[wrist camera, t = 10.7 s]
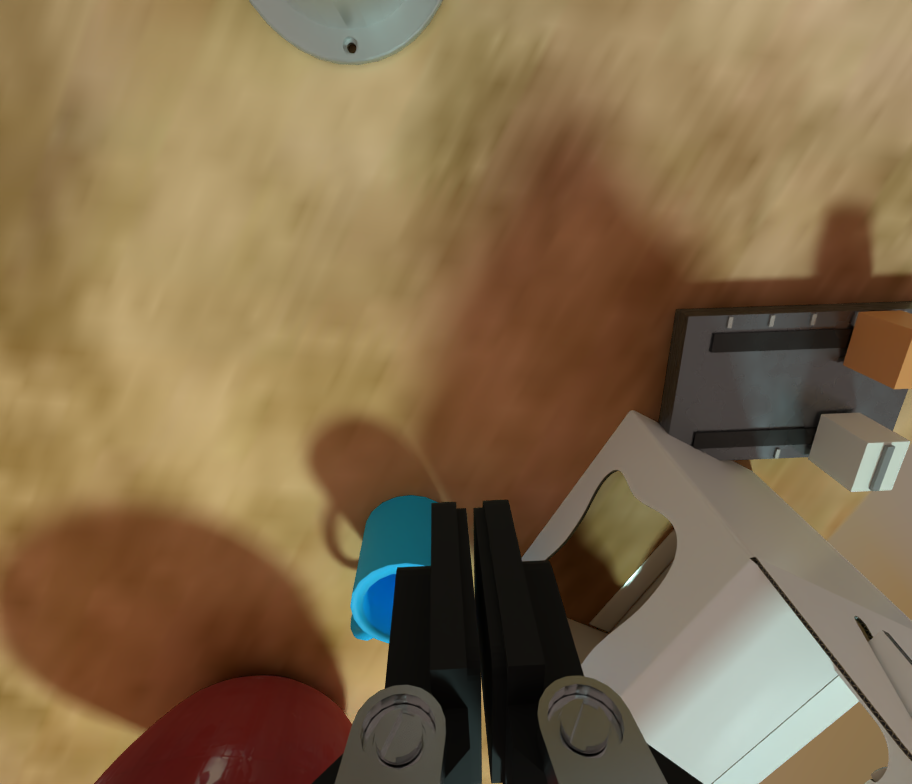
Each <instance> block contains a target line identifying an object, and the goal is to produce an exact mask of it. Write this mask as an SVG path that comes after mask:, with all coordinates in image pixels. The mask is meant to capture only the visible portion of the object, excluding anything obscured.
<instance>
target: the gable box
mask: <svg viewBox="0 0 912 784" xmlns="http://www.w3.org/2000/svg"><path fill="white" fill-rule="evenodd" d="M616 471H621V472H622V474H623V475H624V477H625V479H626V481H627V483H628V485H629V488H630V490H631V492H632V494H633V495H634V496H635V497H636V498H637V499H638V500H639V501H641V502H642V503H644V504H645V505H647V506H649V507H651V508H653V509H654V510H656V511H658V512H659V513H661V514H662V515H664V516H665V517H666V518H667V519H668V520H669V521H670V522H671V523H672V525H673V527H674V530H673V531H672V532H671V533H670V534H669V535H668V536H667V538H666V539H665V540H664V541H663V542H662V543H661V544H660V545H659V546H658V548H657V549H656V550H655V551H654V552H653V553H652V554H651V555H650V556H649V558H648V559H647V560H646V561H645V562H644V563H643V564H642V565H641V566H640V568H639V569H638V570H637V571H636V572H635V573H634V574H633V575H632V576H631V577H630V579H629V580H628V581H627V582H626V583H625V584H624V585H623V586H622V587H621V589H620V590H619V591H618V592H617V593H616V594H615V595H614V596H613V597H612V599H611V600H610V601H609V602H608V603H607V604H606V605H605V606H604V607H603V609H602V610H601V611H600V612H599V613H598V614H597V615H596V616H595V617H594V618H593V620H592V621H591V622H590V623H589V624H590V625H593V626H595V627H598V628H600V629H603V630H605V631H608V632H609V631H610V630H611V629H612V628H613V627H614V626H615V625H616V623H617V622H618V621H619V620H620V619H621V618H622V617H623V616H624V614H625V613H626V612H627V611H628V610H629V609H630V608H631V606H632V605H633V604H634V603H635V602H636V601H637V600H638V598H639V597H640V596H641V595H642V594H643V593H644V592H645V591H646V589H647V588H648V587H649V586H650V585H651V584H652V583H653V581H654V580H655V579H656V578H657V577H658V576H659V575H660V573H661V572H662V571H663V570H664V569H665V568H666V567H667V566H668V564H669V563H670V562H671V561H672V560H673V559H674V560H673V561H672V563H671V564H670V565H669V566H668V567H667V568H666V569H665V570H664V572H663V573H662V574H661V575H660V576H659V577H658V578H657V580H656V581H655V582H654V583H653V584H652V585H651V586H650V587H649V589H648V590H647V591H646V592H645V593H644V594H643V595H642V597H641V598H640V599H639V600H638V601H637V602H636V603H635V604H634V606H633V607H632V608H631V609H630V610H629V611H628V612H627V614H626V615H625V616H624V617H623V618H622V619H621V620H620V621H619V623H618V624H617V625H616V626H615V627H614V628H613V629H612V631H611V632H610V633H609V634H607V633H605V632H602V631H600V630H597V629H594V628H592V627H589V626H587V625H584V624H581V623H579V622H576V621H574V620H571V619H568V618H567V620H568V623H569V627H570V630H571V633H572V637H573V640H574V643H575V647H576V650H577V654H578V657H579V660H580V664H581V667H582V670H583V674H584V676H585V677H589V678H593V679H596V680H598V681H600V682H602V683H604V684H606V685H607V686H609V687H610V688H611V689H612V690H613V691H615V692H616V693H617V694H618V695H619V696H620V697H621V698H622V700H623V701H624V703H625V704H626V706H627V707H628V708H629V710H630V712H631V714H632V716H633V718H634V720H635V722H636V724H637V726H638V727H639V729H640V731H641V733H642V735H643V737H644V739H645V741H646V743H647V744H649V745H650V746H651V747H653V748H654V749H656V750H657V751H658V752H660V753H661V754H663V755H664V756H665V757H667V758H668V759H670V760H671V761H672V762H674V763H675V764H677V765H678V766H679V767H681V768H682V769H684V770H685V771H686V772H688V773H689V774H691V775H692V776H693V777H695V778H696V779H698V780H699V781H700V782H702V783H703V784H758V783H760V782H761V781H762V780H763V779H764V778H766V777H767V776H768V775H769V774H771V773H772V772H773V771H774V770H775V769H777V768H778V767H779V766H780V765H782V764H783V763H784V762H785V761H787V760H788V759H789V758H790V757H791V756H792V755H794V754H795V753H796V752H798V751H799V750H800V749H801V748H802V747H804V746H805V745H806V744H807V743H808V742H810V741H811V740H812V739H813V738H815V737H816V736H817V735H818V734H820V733H821V732H822V731H823V730H824V729H826V728H827V727H828V726H829V725H831V724H832V723H833V722H834V721H836V720H837V719H838V718H839V717H840V716H842V715H843V714H844V713H845V712H847V711H848V710H849V709H850V708H851V707H853V706H854V705H855V704H856V703H858V702H859V701H860V703H861V704H862V705H863V706H864V708H865V709H866V710H867V711H868V713H869V714H870V715H871V716H872V718H873V719H874V720H875V721H876V723H877V724H878V725H879V727H880V729H881V731H882V732H883V734H884V737H885V739H886V742H887V745H888V750H889V762H888V767H884V768H880V769H878V770H876V771H874V772H873V773H872V774H871V776H872V778H873V779H870V780H869V781H867V782H866V783H864V784H912V621H911V620H910V619H909V618H908V617H907V616H906V615H905V614H904V613H903V612H902V611H901V610H899V609H898V608H897V607H896V606H895V605H894V604H893V603H892V602H891V601H890V600H889V599H888V598H887V597H886V596H885V595H883V594H882V593H881V592H880V591H879V590H878V589H877V588H876V587H875V586H874V585H873V584H872V583H871V582H870V581H869V580H868V579H867V578H865V577H864V576H863V575H862V574H861V573H860V572H859V571H858V570H857V569H856V568H855V567H854V566H853V565H852V564H851V563H849V562H848V561H847V560H846V559H845V558H844V557H843V556H842V555H841V554H840V553H839V552H838V551H837V550H836V549H835V548H834V547H832V546H831V545H830V544H829V543H828V542H827V541H826V540H825V539H824V538H823V537H822V536H821V535H820V534H819V533H818V532H817V531H816V530H814V529H813V528H812V527H811V526H810V525H809V524H808V523H807V522H806V521H805V520H804V519H803V518H802V517H801V516H800V515H799V514H797V513H796V512H795V511H794V510H793V509H792V508H791V507H790V506H789V505H788V504H787V503H786V502H785V501H784V500H783V499H782V498H780V497H779V496H778V495H777V494H776V493H775V492H774V491H773V490H772V489H771V488H770V487H769V486H768V485H767V484H766V483H765V482H763V481H762V480H761V479H760V478H759V477H758V476H757V475H756V474H755V473H754V472H753V471H751V470H749V469H747V468H745V467H744V466H742V465H740V464H738V463H736V462H734V461H732V460H724V461H719V460H718V459H716V458H714V457H712V456H710V455H708V454H705V453H703V452H702V451H700V450H698V449H695V448H693V447H692V446H690V445H688V444H686V443H684V442H682V441H680V440H678V439H676V438H674V437H672V436H670V435H669V434H668V433H667V432H666V431H665V430H664V429H663V427H662V426H661V425H660V424H659V423H658V422H656V421H654V420H652V419H650V418H648V417H646V416H644V415H642V414H640V413H638V412H636V411H634V410H632V411H629V413H628V414H627V415H626V417H625V418H624V419H623V421H622V422H621V424H620V425H619V426H618V428H617V429H616V430H615V432H614V433H613V434H612V436H611V437H610V438H609V440H608V441H607V443H606V444H605V445H604V447H603V448H602V449H601V451H600V452H599V453H598V455H597V456H596V458H595V459H594V460H593V462H592V463H591V464H590V466H589V467H588V468H587V470H586V471H585V472H584V474H583V475H582V477H581V478H580V479H579V481H578V482H577V483H576V485H575V486H574V487H573V489H572V490H571V492H570V493H569V494H568V496H567V497H566V498H565V500H564V501H563V502H562V504H561V505H560V506H559V508H558V509H557V511H556V512H555V513H554V515H553V516H552V517H551V519H550V520H549V521H548V523H547V524H546V526H545V527H544V528H543V530H542V531H541V532H540V534H539V535H538V536H537V538H536V539H535V540H534V542H533V543H532V545H531V546H530V547H529V549H528V550H527V551H526V553H525V554H524V555H523V557H522V558H521V559H522V561H540V560H549V559H550V558H551V557H552V556H553V555H554V554H556V553H557V552H558V551H559V550H560V549H561V548H562V547H563V546H564V545H565V544H566V543H567V541H568V540H569V539H570V538H571V536H572V535H573V533H574V532H575V531H576V529H577V528H578V526H579V525H580V523H581V522H582V520H583V518H584V517H585V515H586V513H587V511H588V509H589V507H590V505H591V503H592V501H593V499H594V497H595V496H596V494H597V492H598V490H599V488H600V487H601V485H602V484H603V482H604V481H605V480H606V479H607V478H608V477H609V476H610V475H611V474H612V473H614V472H616Z"/></svg>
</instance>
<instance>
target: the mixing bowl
mask: <svg viewBox="0 0 912 784" xmlns="http://www.w3.org/2000/svg"><path fill="white" fill-rule="evenodd" d="M351 726H352V724H351V722H350V721H349V719H348V718H347V716H346V715H345V714H344V712H343V711H342V710H341V709H340V708H339V707H338V706H337V704H335V703H334V702H333V701H332V700H331V699H330V698H328V697H327V696H326V695H325V694H323V693H321V692H320V691H318V690H316V689H314V688H313V687H311V686H308V685H306V684H303V683H301V682H299V681H296V680H293V679H289V678H286V677H280V676H272V675H258V676H245V677H238V678H234V679H229V680H226V681H222V682H219V683H216V684H214V685H211V686H209V687H207V688H204V689H202V690H200V691H198V692H196V693H194V694H193V695H191V696H190V697H188V698H187V699H185V700H184V701H182V702H181V703H180V704H178V705H177V706H175V707H174V708H173V709H172V710H170V711H169V712H168V713H167V714H165V715H164V716H163V717H162V718H160V719H159V720H158V721H157V722H156V723H155V724H153V725H152V726H151V727H150V728H149V729H148V730H147V731H145V732H144V733H143V734H142V735H141V736H140V737H139V738H138V739H137V740H136V741H134V742H133V743H132V744H131V745H130V746H129V747H128V748H127V749H126V750H125V751H124V752H123V753H122V754H121V755H120V756H119V757H118V758H117V759H116V760H115V761H114V762H113V763H112V765H111V766H110V767H109V768H108V769H107V770H106V771H105V772H104V773H103V774H102V775H101V776H100V777H99V779H98V780H97V781H96V782H95V783H94V784H312V783H313V782H314V781H315V780H316V779H317V778H318V777H319V776H320V775H321V774H322V773H323V772H324V771H325V770H326V769H327V768H328V767H329V766H330V765H331V764H332V763H334V762H335V761H336V760H337V759H338V758H339V757H340V756H341V755H342V754H343V753H344V750H345V747H346V743H347V740H348V737H349V733H350V730H351Z"/></svg>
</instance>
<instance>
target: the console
mask: <svg viewBox="0 0 912 784" xmlns="http://www.w3.org/2000/svg"><path fill="white" fill-rule="evenodd" d="M896 310H901V311H904V312H908V313H911V314H912V301H905V302H876V303H848V304H819V305H790V306H761V307H733V308H704V309H676V313H675V320H674V326H673V333H672V339H671V346H670V352H669V359H668V365H667V372H666V378H665V385H664V391H663V398H662V404H661V410H660V417H659V424H660V425H661V426H662V427H663V429H664V430H665V431H666V432H667V433H668V434H669V435H670V436H672V437H674V438H676V439H678V440H680V441H682V442H684V443H686V444H688V445H690V446H692V447H693V448H695V449H698V450H700V451H702V452H703V453H705V454H708V455H710V456H712V457H714V458H716V459H718V460H719V461H724V460H748V459H771V458H794V457H809V454H810V451H811V447H812V444H813V441H814V437H815V434H816V431H817V427H818V424H819V421H820V417H821V414H836V413H861V414H863V415H865V416H867V417H868V418H870V419H872V420H874V421H875V422H877V423H879V424H881V425H883V426H884V427H886V428H888V429H890V430H891V431H893V429H894V426H895V423H896V421H897V418H898V415H899V412H900V410H901V407H902V404H903V402H904V399H905V396H906V393H907V391H908V389H892V388H890V387H888V386H886V385H884V384H882V383H880V382H878V381H875V380H873V379H871V378H869V377H867V376H865V375H863V374H861V373H858V372H856V371H854V370H852V369H850V368H848V367H846V366H844V365H843V362H844V359H845V356H846V353H847V349H848V346H849V343H850V339H851V336H852V333H853V330H854V326H855V323H856V320H857V316H858V313H859V312H867V311H896Z"/></svg>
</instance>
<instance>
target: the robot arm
mask: <svg viewBox="0 0 912 784" xmlns="http://www.w3.org/2000/svg"><path fill="white" fill-rule="evenodd" d="M249 1H250V3H251V4H252V5H253V6H254V8H255V9H256V10H257V11H258V13H259V14H260V15H261V16H262V18H263V19H264V20H265V21H266V23H267V24H268V25H269V26H271V27H272V28H273V29H274V30H275V31H276V32H277V33H278V34H279V35H280V36H281V37H283V38H284V39H285V40H287V41H288V42H289V43H291V44H292V45H294V46H295V47H296V48H298V49H299V50H301V51H303V52H305V53H307V54H309V55H311V56H313V57H316V58H318V59H321V60H324V61H328V62H332V63H336V64H348V65H361V64H366V63H371V62H377V61H380V60H382V59H385V58H387V57H389V56H391V55H394V54H396V53H398V52H399V51H401V50H402V49H403V48H405V47H406V46H407V45H409V44H410V43H412V42H413V41H414V40H415V39H416V38H417V37H418V36H419V35H420V34H421V32H422V31H423V30H424V29H425V28H426V27H427V26H428V25H429V23H430V22H431V20H432V18H433V17H434V15H435V13H436V12H437V10H438V8H439V7H440V5H441V3H442V1H443V0H249ZM351 44H354V45H356V51H355V53H350V52H349V50H348V48H349V46H350V45H351ZM474 583H475V598H474V587H473V577H472V566H471V555H470V545H469V534H468V523H467V513H466V508H461V509H456V502H444V503H431V566H414V567H397V570H396V578H395V589H394V599H393V610H392V620H391V630H390V641H389V651H388V662H387V672H386V683H385V689H383V690H380V691H379V692H377V693H376V694H375V695H373V696H372V697H370V698H369V699H368V700H367V701H366V702H365V703H364V705H363V706H362V707H361V708H360V709H359V711H358V713H357V715H356V717H355V719H354V721H353V724H352V726H351V730H350V733H349V737H348V740H347V743H346V747H345V750H344V753H343V754H342V755H341V756H340V757H339V758H338V759H337V760H336V761H335V762H334V763H332V764H331V765H330V766H329V767H328V768H327V769H326V770H325V771H324V772H323V773H322V774H321V775H320V776H319V777H318V778H317V779H316V780H315V781H314V782H313V783H312V784H482V751H481V680H482V690H483V701H484V712H485V723H486V734H487V744H488V755H489V766H490V776H491V783H503V784H703V783H702V782H700V781H699V780H698V779H696V778H695V777H693V776H692V775H691V774H689V773H688V772H686V771H685V770H684V769H682V768H681V767H679V766H678V765H677V764H675V763H674V762H672V761H671V760H670V759H668V758H667V757H665V756H664V755H663V754H661V753H660V752H658V751H657V750H656V749H654V748H653V747H651V746H650V745H649V744H647V743H646V741H645V739H644V737H643V735H642V733H641V731H640V729H639V727H638V726H637V724H636V722H635V720H634V718H633V716H632V714H631V712H630V710H629V708H628V707H627V706H626V704H625V703H624V701H623V700H622V698H621V697H620V696H619V695H618V694H617V693H616V692H615V691H613V690H612V689H611V688H610V687H609V686H607V685H606V684H604V683H602V682H600V681H598V680H596V679H593V678H589V677H585V676H584V674H583V670H582V667H581V664H580V660H579V657H578V654H577V650H576V647H575V643H574V640H573V637H572V633H571V630H570V627H569V623H568V620H567V617H566V613H565V610H564V606H563V603H562V600H561V596H560V593H559V590H558V586H557V583H556V580H555V576H554V573H553V569H552V567H551V564H550V562H549V561H548V560H540V561H522V559H521V554H520V550H519V545H518V541H517V537H516V532H515V528H514V523H513V519H512V514H511V510H510V505H509V502H508V500H489V501H483V508H474Z"/></svg>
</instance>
